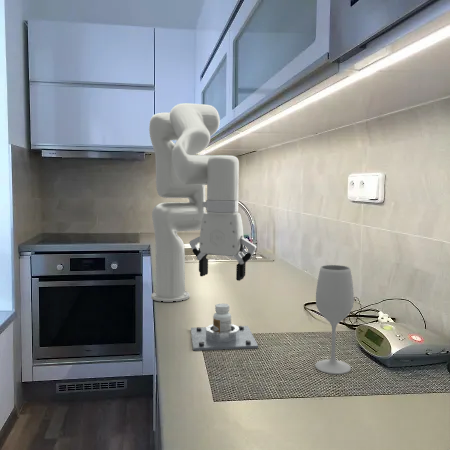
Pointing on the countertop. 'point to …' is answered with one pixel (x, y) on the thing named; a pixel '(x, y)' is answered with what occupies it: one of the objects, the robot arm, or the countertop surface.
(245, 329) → the flange plate
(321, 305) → the wineglass
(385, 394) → the countertop surface
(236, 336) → the duct collar
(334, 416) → the countertop surface
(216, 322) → the pill bottle
